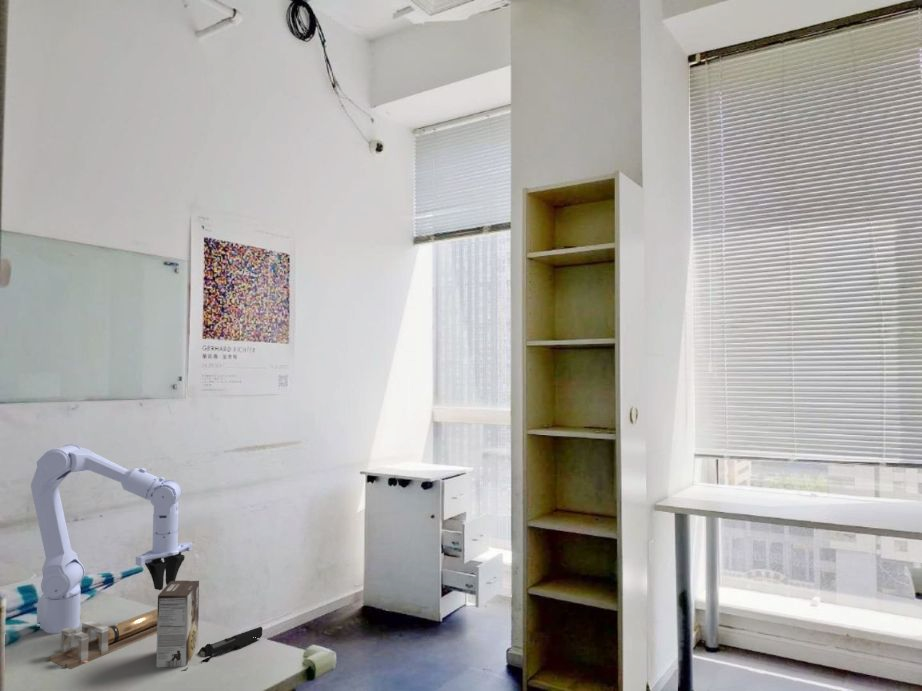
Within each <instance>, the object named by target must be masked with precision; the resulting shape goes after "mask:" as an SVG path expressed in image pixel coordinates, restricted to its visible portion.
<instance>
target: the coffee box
mask: <svg viewBox="0 0 922 691" xmlns="http://www.w3.org/2000/svg"><path fill="white" fill-rule="evenodd" d="M199 593H200V580H175V581H170V582H169V584H168V585H166V586H165V587H163V589H162V590H161V592H160V593H159V594H158V595H157V609H158V614H157V634H156V657H155V658H156V660H155V661H156V664H155V666H156V668H177V667H185V668H184V669H182V670H181V672H185V671H187V670H188V669H189V667H188V665H189V663H190V662H191V660H192V659H193V657H194V656H195V654H196V652H197V650H198V649H199V617H200V616H199V609H200V603H199V601H200V600H199V599H200V594H199Z"/></svg>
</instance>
